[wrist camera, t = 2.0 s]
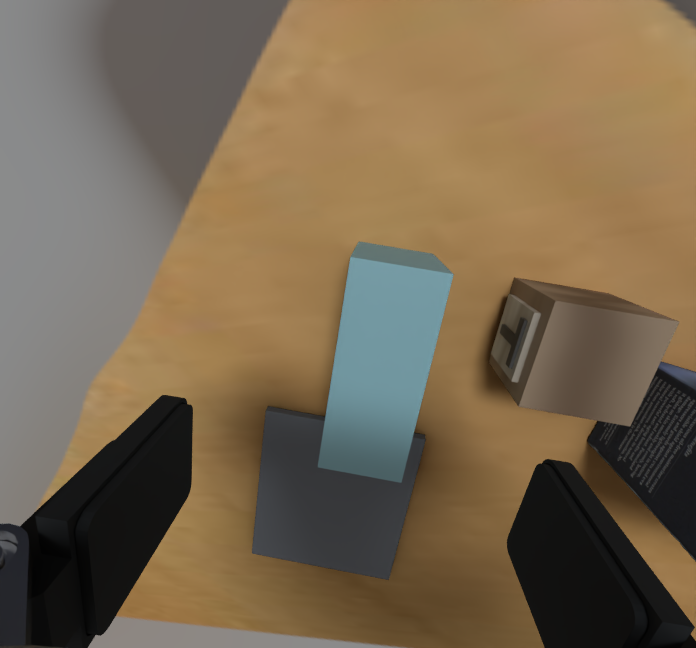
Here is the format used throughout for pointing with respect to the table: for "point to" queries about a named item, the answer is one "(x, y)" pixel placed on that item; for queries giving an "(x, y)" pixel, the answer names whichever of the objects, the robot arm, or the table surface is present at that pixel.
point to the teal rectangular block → (382, 359)
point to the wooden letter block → (578, 351)
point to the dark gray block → (326, 502)
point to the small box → (659, 451)
